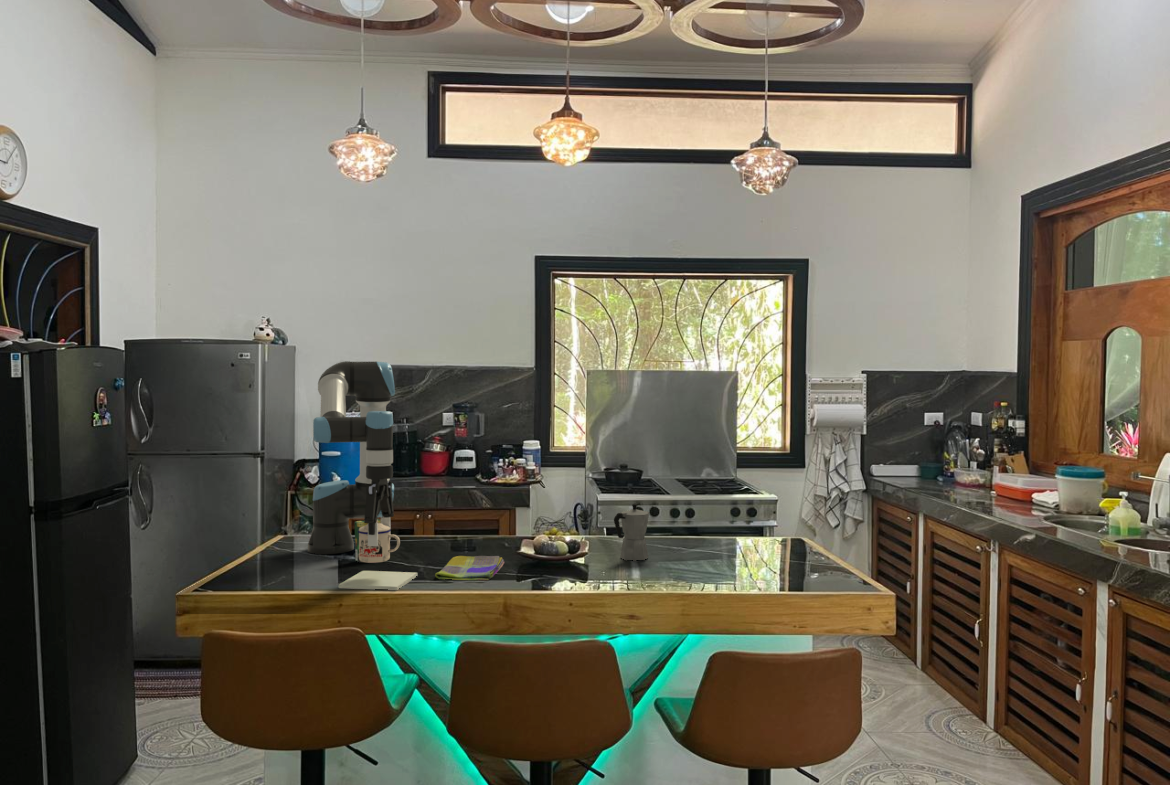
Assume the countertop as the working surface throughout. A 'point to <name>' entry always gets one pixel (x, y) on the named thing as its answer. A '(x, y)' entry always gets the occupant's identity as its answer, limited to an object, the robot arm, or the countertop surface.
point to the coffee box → (358, 525)
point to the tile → (378, 580)
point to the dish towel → (471, 568)
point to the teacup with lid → (376, 552)
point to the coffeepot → (633, 533)
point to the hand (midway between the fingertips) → (379, 542)
